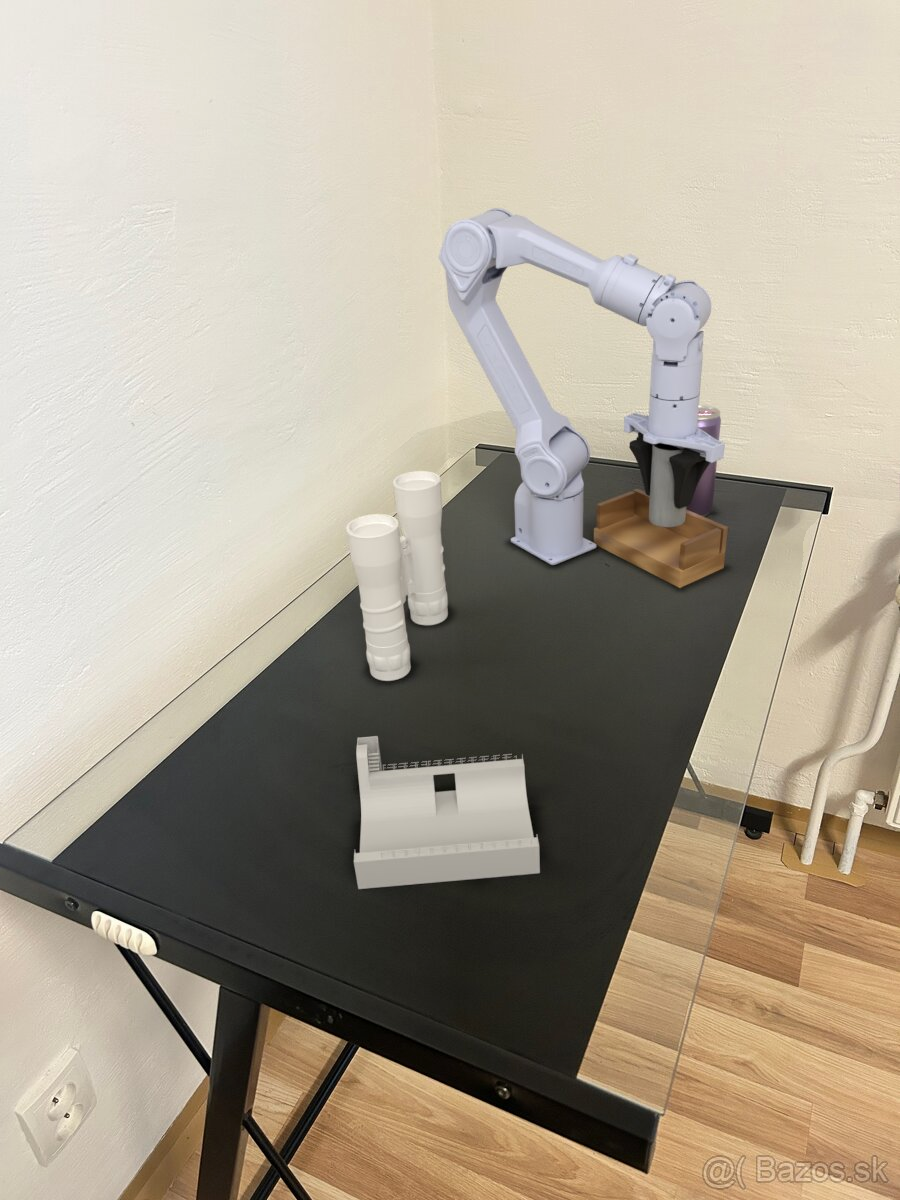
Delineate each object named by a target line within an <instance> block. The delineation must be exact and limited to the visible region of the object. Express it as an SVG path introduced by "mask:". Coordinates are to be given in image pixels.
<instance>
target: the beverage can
mask: <svg viewBox="0 0 900 1200" xmlns="http://www.w3.org/2000/svg"><path fill="white" fill-rule="evenodd" d="M721 423H722V419H721V410H719V409H718V408H717V407H715V406H712V405H711V406H710V405H703V404H699V409H698V422H697V427H698V428H700V429H701V430H703V431H704V432H706V433H707V434H709V435H710V436H712V437H713V438H715V439H716V440H718V441H720V434H721ZM717 467H718V461H715V462H713V463H710V464H709V465H708V467H707V468H706V470H705V471H704V473H703V475H702V477H701V479H700V481H699V483H698V485H697V487H696V490H695V493H694V495H693V498H692V501H691V504H690V505H688V506H686V509H687V510H689V511H691V512H694V513H696V514H698V515H701V516H703V517H706V516H708V515H709V514H710V513H711V512H712V510H713V507H714V496H715V487H716V486H715V485H716V477H717Z"/></svg>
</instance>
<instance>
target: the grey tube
mask: <svg viewBox="0 0 900 1200" xmlns="http://www.w3.org/2000/svg"><path fill="white" fill-rule="evenodd" d="M679 453H683V449H680V448H677V447H675V446H672V445H668V444H662V443H658V444H653V447H652V465H651V484H650V502H649V521H650V522H651V523H652V524H654V525H657V526H660V527H676V526H679V525H681V524H683V523H684V522H685V517H686V507H683V508H681V509H679V508H676V507H675V503H674V487H675V485H674V475H673V470H672V466H671V463H670V461H669V457H671V456H674V455H677V454H679Z"/></svg>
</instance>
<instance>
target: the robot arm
mask: <svg viewBox="0 0 900 1200" xmlns="http://www.w3.org/2000/svg"><path fill="white" fill-rule="evenodd" d="M438 260H439V262H440V264H441V265H442V267H443V269H444V272H445V280H446V291H447V300H448V306H449V309H450V311H451V313H452V315H453V317H454V318H455V320H456V322H457V324H458V326H459V328H460V330H461V331H462V333H463V335H464V337H465V339H466V340H467V343H468V345H469V346H470V348H471V350H472V352H473V353H474V355H475V357H476V359H477V361H478V363H479V365H480V367H481V368H482V370H483V372H484V374H485V376H486V378H487V380H488V381H489V383H490V385H491V387H492V389H493V390H494V393H495V394H496V396H497V399H498V400H499V402H500V404H501V405H502V408H503V409H504V411H505V413H506V415H507V417H508V419H509V420H510V422H511V424H512V426H513V428H514V430H515V432H516V433H515V434H516V435H515V445H514V454H515V456H516V458H517V460H518V462H519V466H520V477H521V480H522V482H521V483H520V485H519V486H518V488H517V490H516V492H515V495H514V500H513V501H514V503H513V504H514V533H515V536H513V537H511V538H510V543H512V544H514V545H515V546H517V547H519V548H521V549H522V550H525V551H526V552H528V553H529V554H531V555H533V556H535V557H537V558H538V559H539V560H541V561H543V562H545V563H547V564H549V565H551V566H555V565H558V564H560V563H563V562H565V561H567V560H570V559H572V558H575V557H577V556H580V555H583V554H585V553H588V552H590V551H592V550H595V549H596V548H597V547H598V546H597V545H596V544H595V543H594V541H591V540H589V539H587V538H585V537H584V492H585V491H584V488H585V487H584V485H585V484H584V480H583V477H582V474H583V473H582V472H583V470H584V469H585V468H586V467H587V466H588V463H589V461H590V459H591V448H590V445H589V443H588V440H587V439H586V437H585V436H584V435H583V434H582V433H580V432H579V431H577V430H576V429H575V428H574V426H573V425H572V424H571V421H570V420H569V418H568V417H567V416H565V415H564V414H562V413H560V412H558V411H556V410H555V409H553V407H552V405H551V403H550V400H549V399H548V397H547V395H546V394H545V391H544V390H543V388H542V386H541V384H540V382H539V380H538V378H537V376H536V374H535V372H534V371H533V369H532V367H531V364H530V363H529V361H528V359H527V357H526V355H525V353H524V351H523V350H522V348H521V345H520V344H519V342H518V340H517V338H516V336H515V334H514V332H513V331H512V329H511V326H510V325H509V323H508V321H507V319H506V317H505V315H504V313H503V312H502V310H501V307H500V305H499V304H498V302H497V300H496V297H497V293H498V290H499V288H500V284H501V281H502V278H503V275H504V273H505V272H506V271H507V269H508V268H509V267H513V266H518V265H523V264H529V265H531V266H533V267H536V268H539V269H542V270H543V271H547V273H548V272H549V273H551V274H554V275H555V276H558V277H561V278H562V279H565V280H568V281H570V282H573V283H575V284H577V285H580V286H583V287H585V288H587V289H588V290H589V293H590V295H591V298H592V300H593V302H594V304H596V305H598V306H600V307H602V308H604V309H605V310H607V311H610V312H612V313H614V314H616V315H618V316H620V317H622V318H625V319H627V320H628V321H631V322H633V323H636V324H637V325H639V326H641V327H646V330H647V331H648V334H649V335H650V337H651V339H653V340H652V354H651V361H650V362H651V364H650V380H649V381H650V382H649V383H650V384H649V399H648V400H649V402H648V415H645V414H640V413H637V412H634V413H630V414H627V415H624V417H623V432H625V433H628V434H629V433H636V434H637V436H636V439H634V440H631V441H629V446H628V447H629V449H630V451H631V453H632V454H633V456H634V458H635V460H636V463H637V466H638V468H639V471H640V475H641V479H642V483H643V487H644V492H646V495H648V496H650V484H651V465H652V447H653V444H658V443H662V444H668V445H672V446H675V447H677V448H680V449H683V453H679V454H677V455H674V456H671V457H669V461H670V463H671V466H672V470H673V475H674V485H675V487H674V503H675V507H676V508H679V509H681V508H683V507H686V506H688V505H690V504H691V501H692V498H693V495H694V493H695V490H696V487H697V485H698V483H699V481H700V479H701V477H702V475H703V473H704V471H705V470H706V468H707V467H708V465H709V464H710V463H713V462H715V461H717V462H718V461H720V460H723V459H724V456H725V444H726V442H724V441H720V440H719V441H718V440H716V439H715V438H713V437H712V436H710V435H709V434H707V433H706V432H704V431H703V430H701V429H700V428H698V427H697V422H698V409H699V405H700V396H701V382H702V371H703V359H704V353H703V348H704V347H703V346H704V334H705V333H704V330H701V329H702V328H703V327H704V326H705V325H706V324H707V322H708V320H709V318H710V316H711V313H712V301H711V297H710V296H709V293H708V292H707V290H706V289H705V288H704V287H702V286H701V285H699V284H698V283H697V282H696V281H695V280H692V279H683V280H680V281H677V277H676V276H675V275H673V274H671V273H668V274H666V276H665V275H663V274H661V273H658V272H656V271H654V270H653V269H650V268H648V267H645V266H643V265H641V264H639V263H638V262H639V257H638V256H636V255H634V254H632V253H628V254H626V255H624V256H622V255H619V254H615V255H613V256H610V257H608V258H607V259H601V258H599V257H597V256H596V255H594V254H592V253H590V252H588V251H587V250H584V248H583V249H582V248H581V247H579V246H577V245H575V244H573V243H571V242H569V241H568V240H566V239H564V238H563V237H561V236H558V235H557V234H555V233H552V232H550V231H549V230H547V229H545V228H544V227H541V226H539V225H538V224H536V223H535V222H533V221H531V220H530V219H529V218H527V217H526V216H523V215H520V214H513V213H512V212H510V211H509V210H508V209H505V208H499V207H494V208H491V209H488V210H486V211H484V212H483V213H480V214H477V215H474V216H471V217H469V218H463V219H459V220H457V221H455V222H453V223H452V224H451V225H450V226H449V227H448V228H447V230H446V232H445V234H444V236H443V241H442V244H441V248H440V250H439V254H438ZM676 281H677V282H676Z"/></svg>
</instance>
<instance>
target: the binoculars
mask: <svg viewBox="0 0 900 1200" xmlns="http://www.w3.org/2000/svg"><path fill="white" fill-rule="evenodd" d="M441 480H442V478H441V476H440V475H439V474H437V473H436V472H433V471H429V470H412V471H407V472H404V473H401V474H398V475H397V476H396V477H395V478H394V479H393V480H392V486H393V493H394V503H395V512H396V516H397V518H396V517H394V516H392V515H389V514H386V513H371V514H365V515H360V516H358V517H355V518H354V519H352V520H350V521H349V522H348V523H347V524H346V527H345V531H346V534H347V542H348V549H349V557H350V561H351V564H352V567H353V571H354V575H355V577H356V581H357V583H358V590H359V596H360V597H359V598H360V603H359V606H360V609H361V612H362V619H363V623H362V627H363V629H364V634H365V642H366V651H365V654H366V661H367V663H368V666H369V673H370V675H371V676H372V677H373V678H374V679H376V680H379V681H383V682H384V681H385V682H391V681H396V680H397V681H398V680H399V679H403V678H404V677H405V676H407V675H408V674H409V673H410V671H411V668H412V666H411V647H410V643H409V639H408V632H407V625H406V619H405V618H406V617H405V616H406V615H405V609H404V608H405V607H404V606H405V605H404V604H405V603H406V601H407V605H408V609H409V614H410V619H411V621H412V622H413V623H414V624H417V625H420V626H421V625H422V626H434V625H438V624H440V623H443V622H444V621H445V620H446V619H447V618H448V615H449V611H448V606H449V600H448V591H447V587H446V586H447V583H446V580H445V579H446V578H445V570H446V565H445V563H444V554H443V552H445V551H444V549H445V548H444V546H443V542H442V530H441V529H442V520H443V519H442V518H443V516H442V515H443V497H442V495H443V494H442V483H441V482H442V481H441ZM400 530H401V534H402V535H401V534H400Z"/></svg>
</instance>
